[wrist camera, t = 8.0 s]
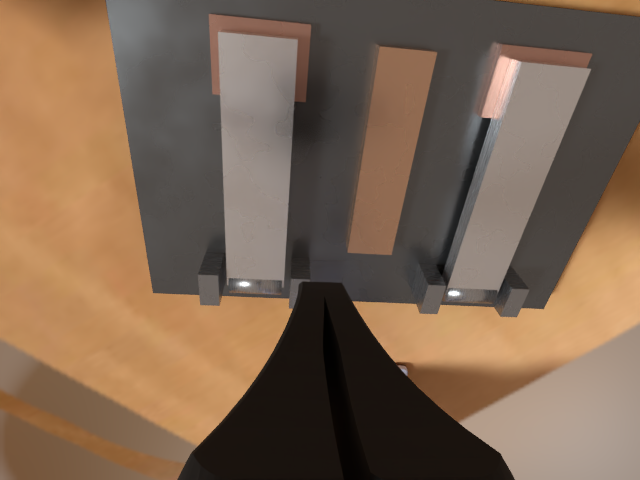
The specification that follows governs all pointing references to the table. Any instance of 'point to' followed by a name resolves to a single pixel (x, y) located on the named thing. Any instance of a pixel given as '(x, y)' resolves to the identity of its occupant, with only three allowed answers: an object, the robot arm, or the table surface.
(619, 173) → the table surface
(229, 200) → the bar
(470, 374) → the table surface
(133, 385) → the table surface
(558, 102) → the bar
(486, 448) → the robot arm
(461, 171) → the plate
